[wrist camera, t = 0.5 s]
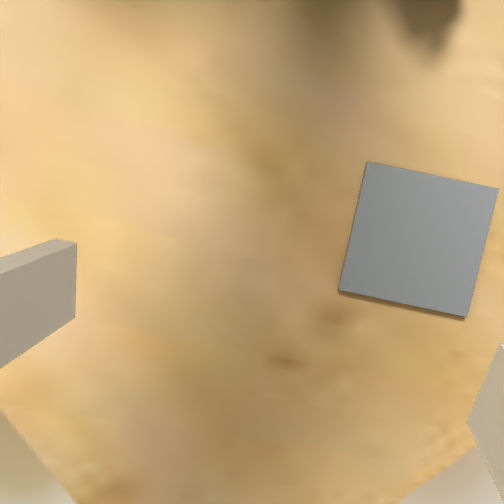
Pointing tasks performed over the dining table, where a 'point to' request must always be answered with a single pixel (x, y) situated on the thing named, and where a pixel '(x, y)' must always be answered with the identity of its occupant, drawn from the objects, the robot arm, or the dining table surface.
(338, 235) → the dining table surface
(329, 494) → the dining table surface
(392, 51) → the dining table surface
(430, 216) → the rubber mat
